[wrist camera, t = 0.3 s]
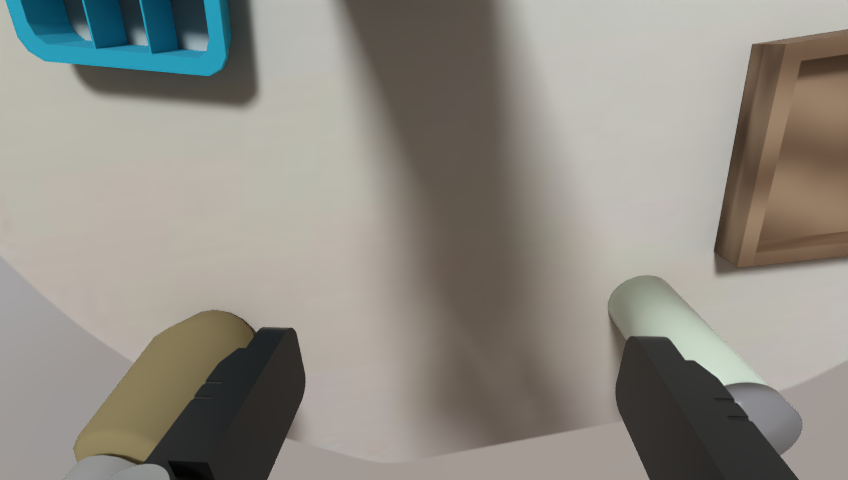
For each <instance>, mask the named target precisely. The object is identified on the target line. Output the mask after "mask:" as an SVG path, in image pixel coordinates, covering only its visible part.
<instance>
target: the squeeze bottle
mask: <svg viewBox="0 0 848 480" xmlns="http://www.w3.org/2000/svg"><path fill="white" fill-rule="evenodd" d="M253 337H254V334H253V332H252V330H251V328H250V327H249V326H248V325H247V324H246V323H245V322H244V321H243V320H242V319H240V318H238V317H236V316H234V315H232V314H230V313H228V312H223V311H217V310H211V311H205V312H200V313H198V314H196V315H194V316H192V317H190V318H188V319H186V320H184V321H182V322H180V323H178V324H176V325H174V326H172V327H170V328H168V329H166V330H165V331H163V332H162V333H160V334H158V335H157V336H155V337H154V338H153V340H152V341H151V342H150V344H149V345H148V346H147V347H146V349H145V350H144V351H143V353H142V354H141V355H140V357H139V358H138V359H137V360H136V362H135V363H134V364H133V366H132V367H131V368H130V369H129V371H128V372H127V374H126V375H125V376H124V377H123V379H122V380H121V381H120V382H119V384H118V385H117V386H116V388H115V389H114V390H113V392H112V393H111V394H110V396H109V397H108V398H107V399H106V401H105V402H104V403H103V405H102V406H101V407H100V408H99V410H98V411H97V412H96V414H95V415H94V416H93V418H92V419H91V420H90V422H89V423H88V424H87V425H86V427H85V428H84V429H83V431H82V432H81V433H80V434H79V436H78V438H77V440H76V442H75V445H74V447H73V449H74V453H75V457H76V460H77V463H76V465H75V466H74V467H73V468H72V469H71V470H70V471H69V472H68V474H67V475H66V476H65V477H64V478H63V480H107V479H108V478H110V477H111V476H113V475H115V474H117V473H119V472H121V471H123V470H125V469H128V468H130V467H133V466H137V465H142V464H143V463H144V461H145V460H146V459H147V458H148V456H149V455H150V454H151V452H152V451H153V450H154V448H155V447H156V446H157V444H158V443H159V442H160V440H161V439H162V438H163V436H164V435H165V434H166V432H167V431H168V430H169V428H170V427H171V426H172V424H173V423H174V422H175V420H176V419H177V418H178V416H179V415H180V414H181V412H182V411H183V410H184V408H185V407H186V406H187V404H188V403H189V402H190V400H193V399H194V395H195V394H196V393H197V391H198V390H199V389H200V387H201V386H202V385H203V384H205V382H206V379H207V378H208V377H209V375H210V374H211V373H212V371H213V370H214V369H215V367H216V366H217V365H218V363H219V362H221V361H222V360H223V359H224V358H226V357H227V356H228V355H230V354H231V353H232V352H234V351H235V350H236V349H238V348H246V347H247V346H248V344H249V343H250V341H251V340H252V339H253Z"/></svg>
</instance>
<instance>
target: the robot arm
mask: <svg viewBox="0 0 848 480" xmlns="http://www.w3.org/2000/svg"><path fill="white" fill-rule="evenodd" d="M304 390H305V371H304V366H303V362H302V357H301V352H300V348H299V343H298V338H297V334H296V331H295V330H294V329H293V328H274V327H262V328H260V329H259V330H258V331H257V333H256V334H255V336H254V337H253V339H252V340H251V341H250V343H249V344H248V346H247V347H246V348H238V349H236V350H235V351H234V352H232V353H231V354H230V355H228V356H227V357H226V358H224V359H223V360H222V361H221V362H219V363H218V365H217V366H216V367H215V369H214V370H213V371H212V373H211V374H210V375H209V377H208V378H207V379H206V382H205V384H203V385H202V386H201V387H200V389H199V390H198V391H197V393H196V394H195V395H194V399H193V400H190V402H189V403H188V404H187V406H186V407H185V408H184V410H183V411H182V412H181V414H180V415H179V416H178V418H177V419H176V420H175V422H174V423H173V424H172V426H171V427H170V428H169V430H168V431H167V432H166V434H165V435H164V436H163V438H162V439H161V440H160V442H159V443H158V444H157V446H156V447H155V448H154V450H153V451H152V452H151V454H150V455H149V456H148V458H147V459H146V460H145V461H144V463H143V464H142V465H137V466H133V467H130V468H128V469H125V470H123V471H121V472H119V473H117V474H115V475H113V476H111V477H110V478H108V479H107V480H267V479H268V477H269V474H270V472H271V470H272V467H273V465H274V463H275V460H276V458H277V456H278V453H279V451H280V449H281V447H282V444H283V442H284V440H285V438H286V435H287V433H288V431H289V428H290V426H291V424H292V422H293V419H294V417H295V415H296V412H297V410H298V408H299V405H300V403H301V401H302V398H303V395H304ZM616 401H617V406H618V409H619V412H620V415H621V417H622V419H623V421H624V423H625V426H626V428H627V430H628V432H629V434H630V436H631V439H632V441H633V443H634V446H635V448H636V450H637V452H638V454H639V456H640V459H641V461H642V463H643V465H644V468H645V470H646V472H647V474H648V477H649V479H650V480H799V479H798V478H797V477H796V476H795V474H794V473H793V472H792V471H791V469H790V468H789V467H788V465H787V464H786V463H785V462H784V460H783V459H782V458H781V457H780V455H779V454H778V453H777V452H776V450H775V449H774V448H773V447H772V445H771V444H770V443H769V442H768V440H767V439H766V438H765V437H764V435H763V434H762V433H761V432H760V430H759V429H758V428H757V426H756V425H755V424H754V423H753V421H749V419H748V417H749V416H748V415H747V414H746V413H745V411H744V410H743V409H742V408H741V406H740V405H739V404H738V403H735V401H734V398H733V396H732V395H731V394H730V393H729V391H728V390H727V389H726V388H725V386H724V385H723V384H722V382H721V381H720V380H719V379H718V378H717V377H716V376H715V375H713V374H712V373H711V372H709V371H708V370H707V369H705V368H704V367H703V366H701V365H700V364H699V363H697V362H696V361H695V360H685V359H684V357H683V356H682V355H681V353H680V352H679V351H678V349H677V348H676V347H675V345H674V344H673V343H672V341H671V340H670V339H669V338H667V337H663V336H630V337H629V338H628V339H627V341H626V345H625V349H624V353H623V357H622V361H621V365H620V370H619V374H618V378H617V382H616Z"/></svg>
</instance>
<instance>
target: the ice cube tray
mask: <svg viewBox="0 0 848 480" xmlns="http://www.w3.org/2000/svg"><path fill="white" fill-rule="evenodd" d="M139 1H140V6H141V11H142V16H143V21H144V26H145V31H146V36H147V41H148V46H141V45H130V44H128V42H127V38H126V33H125V28H124V24H123V19H122V15H121V10H120V6H119V1H118V0H82V3H83V7H84V11H85V15H86V18H87V22H88V26H89V30H90V34H91V38H92V41H86V40H84V39H83V38H82V37H80V36H79V35H78V34H77V33H75V31H74V29H73V28H72V26H71V24H70V22H69V20H68V17H67V13H66V9H65V6H64V2H63V0H6V3H7V6H8V9H9V12H10V15H11V18H12V22H13V25H14V28H15V31H16V34H17V37H18V38H19V40H20V41H21V42H22V43H23V45H24V46H25V47H26V48H27V50H28V51H29V52H31V53H32V54H34V55H36V56H37V57H39V58H41V59H42V60H44V61H48V62H59V63H70V64H81V65H92V66H103V67H114V68H125V69H136V70H147V71H158V72H169V73H180V74H191V75H202V76H212V75H214V74H215V73H217V72H219V71H220V70H222V69H223V68H224V66H225V64H226V61H227V59H228V50H229V47H230V42H231V38H232V36H231V27H230V19H229V10H228V1H227V0H204V6H205V13H206V20H207V27H208V35H209V42H208V47H207V51H195V50H185V49H179V48H178V43H177V37H176V31H175V25H174V19H173V13H172V7H171V1H170V0H139Z"/></svg>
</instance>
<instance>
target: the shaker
mask: <svg viewBox="0 0 848 480" xmlns="http://www.w3.org/2000/svg"><path fill="white" fill-rule="evenodd" d="M608 312H609V315H610V316H611V318H612V320H613V321H614V323H615V324H616V326H617V327H618V329H619V330H620V332H621V333H622V335H623V337H624V338H625V340H626V341H627V339H628V338H629V337H630V336H663V337H667V338H669V339H670V340H671V341H672V343H673V344H674V345H675V347H676V348H677V349H678V351H679V352H680V353H681V355H682V356H683V357H684V359H685V360H695V361H696V362H697V363H699V364H700V365H701V366H703V367H704V368H705V369H707V370H708V371H709V372H711V373H712V374H713V375H715V376H716V377H717V378H718V379H719V380H720V381H721V382H722V384H723V385H724V386H725V388H726V389H727V390H728V391H729V393H730V394H731V395H732V396H733V398H734V401H735V403H738V404H739V405H740V406H741V408H742V409H743V410H744V411H745V413H746V414H747V415H748V416H749V417H748V419H749V421H753V423H754V424H755V425H756V426H757V428H758V429H759V430H760V432H761V433H762V434H763V435H764V437H765V438H766V439H767V440H768V442H769V443H770V444H771V445H772V447H773V448H774V449H775V450H776V452H777V453H778V454H779V455H781V454H783V453H784V452H785V451H787V450H788V449H789V448H790V447H791V446H792V445H793V444H794V443H795V442H796V441H797V439H798V437H799V436H800V434H801V431H802V419H801V417H800V415H799V413H798V412H797V411H796V410H795V409H794V408H793V407H792V406H791V405H790V404H789V403H788V402H787V401H786V400H785V399H784V398H783V397H782V396H781V395H780V394H779V393H778V392H777V391H776V390H775V389H773V388H771V387H769V386H768V385H767V384H766V382H765V381H764V380H763V379H762V378H761V377H760V376H759V375H758V374H757V373H756V372H755V371H754V370H753V369H752V368H751V367H750V366H749V365H748V364H747V363H746V362H745V361H744V360H743V359H742V358H741V357H740V356H739V355H738V354H737V353H736V352H735V351H734V350H733V349H732V348H731V347H730V346H729V345H728V344H727V343H726V342H725V341H724V340H723V339H722V338H721V337H720V336H719V335H718V334H717V333H716V332H715V331H714V330H713V329H712V328H711V327H710V326H709V325H708V324H707V323H706V322H705V321H704V320H703V319H702V318H701V317H700V316H699V314H698V313H697V312H696V311H695V310H694V309H693V308H692V307H691V306H690V305H689V304H688V303H687V302H686V301H685V300H684V299H683V298H682V297H681V296H680V295H679V294H678V293H677V292H676V291H675V290H674V289H673V288H672V287H671V286H670V285H669V284H668V283H667V282H666V281H664V280H663V279H661V278H659V277H655V276H638V277H635V278H632V279H629V280H627V281H625V282H624V283H622V284H621V285H620V286H618V287H617V288H616V289H615V291H614V292H613V293H612V295H611V297H610V299H609V302H608Z"/></svg>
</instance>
